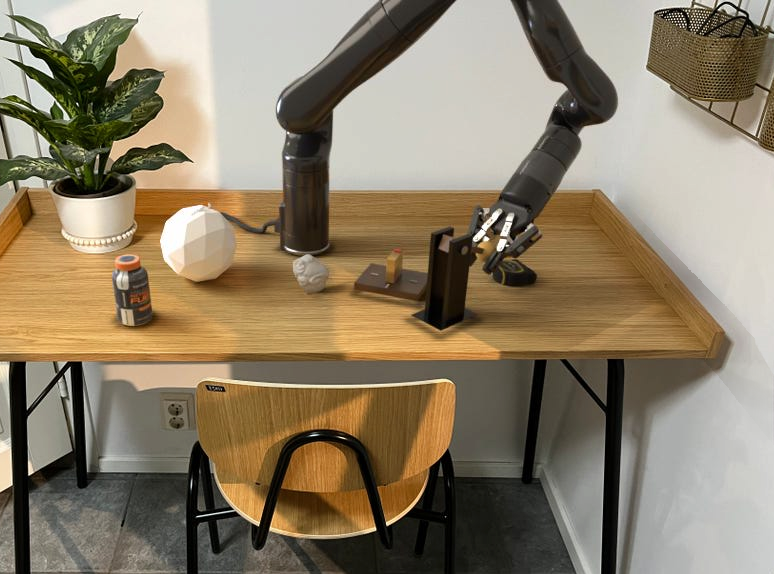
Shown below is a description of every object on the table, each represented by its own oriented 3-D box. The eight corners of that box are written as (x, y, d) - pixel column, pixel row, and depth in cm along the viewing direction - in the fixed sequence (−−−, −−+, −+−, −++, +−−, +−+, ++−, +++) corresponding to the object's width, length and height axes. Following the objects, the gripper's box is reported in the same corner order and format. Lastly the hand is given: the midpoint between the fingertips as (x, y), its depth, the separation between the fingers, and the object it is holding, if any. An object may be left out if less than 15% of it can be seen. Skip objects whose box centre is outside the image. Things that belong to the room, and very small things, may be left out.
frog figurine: (301, 281, 145) (301, 247, 141) (335, 289, 142) (336, 254, 138) (287, 295, 140) (286, 260, 136) (321, 303, 137) (321, 267, 134)
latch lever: (480, 259, 134) (488, 239, 133) (496, 266, 131) (504, 246, 130) (433, 250, 125) (441, 229, 124) (450, 257, 122) (458, 236, 121)
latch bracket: (446, 305, 136) (454, 221, 128) (476, 320, 131) (487, 233, 123) (410, 320, 131) (416, 234, 123) (440, 337, 127) (448, 248, 118)
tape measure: (536, 289, 141) (539, 271, 139) (503, 295, 139) (506, 276, 137) (516, 274, 146) (519, 256, 144) (484, 279, 145) (487, 260, 143)
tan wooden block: (393, 283, 138) (395, 259, 135) (385, 282, 138) (386, 257, 136) (402, 273, 141) (403, 249, 139) (393, 272, 142) (395, 247, 139)
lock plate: (353, 294, 140) (354, 281, 138) (370, 275, 147) (371, 262, 145) (417, 307, 136) (418, 293, 134) (431, 285, 143) (432, 272, 141)
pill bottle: (136, 330, 130) (127, 269, 124) (110, 321, 132) (100, 261, 126) (160, 315, 134) (152, 255, 128) (134, 307, 137) (126, 248, 131)
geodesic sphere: (186, 222, 154) (162, 181, 141) (254, 229, 151) (235, 187, 138) (166, 289, 150) (139, 252, 136) (236, 297, 146) (215, 261, 133)
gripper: (492, 161, 133) (436, 244, 133) (560, 182, 123) (500, 271, 123) (507, 185, 138) (454, 264, 138) (574, 207, 129) (517, 292, 129)
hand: (476, 267), depth 131 cm, fingers closed on latch lever, 3 cm apart
